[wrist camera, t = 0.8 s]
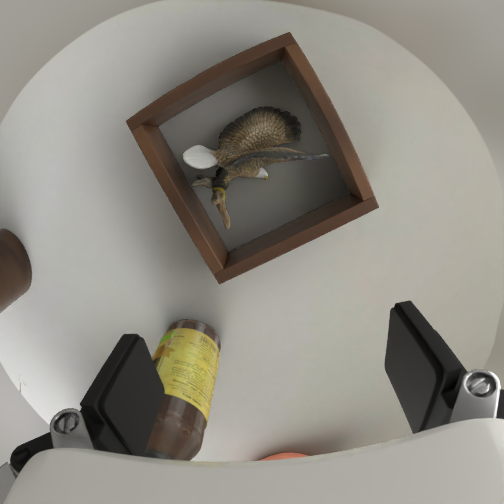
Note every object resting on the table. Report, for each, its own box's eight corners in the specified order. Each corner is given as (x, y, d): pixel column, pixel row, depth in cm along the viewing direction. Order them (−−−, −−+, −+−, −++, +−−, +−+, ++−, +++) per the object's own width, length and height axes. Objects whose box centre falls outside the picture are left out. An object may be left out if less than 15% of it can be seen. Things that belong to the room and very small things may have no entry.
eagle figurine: (253, 234, 26) (341, 170, 22) (199, 226, 19) (310, 136, 16) (217, 167, 28) (291, 106, 24) (162, 146, 22) (249, 64, 18)
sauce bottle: (166, 310, 30) (85, 477, 11) (226, 323, 30) (191, 510, 11) (164, 356, 32) (104, 509, 13) (217, 368, 32) (187, 532, 13)
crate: (144, 123, 24) (125, 121, 20) (285, 47, 21) (289, 31, 17) (224, 265, 28) (219, 284, 24) (363, 198, 25) (379, 207, 22)
